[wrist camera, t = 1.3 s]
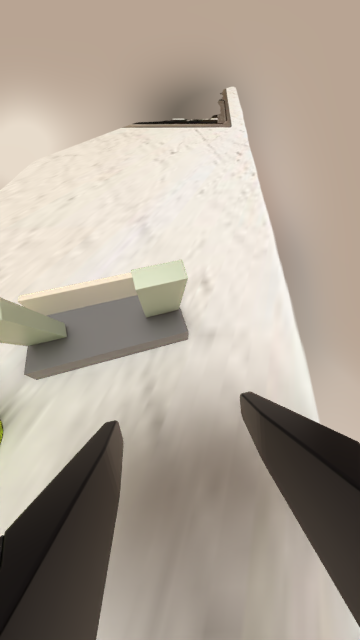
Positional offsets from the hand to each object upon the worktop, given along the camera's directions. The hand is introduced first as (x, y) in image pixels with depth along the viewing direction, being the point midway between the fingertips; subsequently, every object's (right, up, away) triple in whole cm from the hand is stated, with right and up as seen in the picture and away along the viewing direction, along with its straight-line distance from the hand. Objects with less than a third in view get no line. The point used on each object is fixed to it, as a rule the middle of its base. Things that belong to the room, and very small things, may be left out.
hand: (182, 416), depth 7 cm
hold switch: (-15, +2, +15) cm, 21 cm away
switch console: (-9, +2, +17) cm, 20 cm away
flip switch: (-2, +5, +17) cm, 18 cm away
